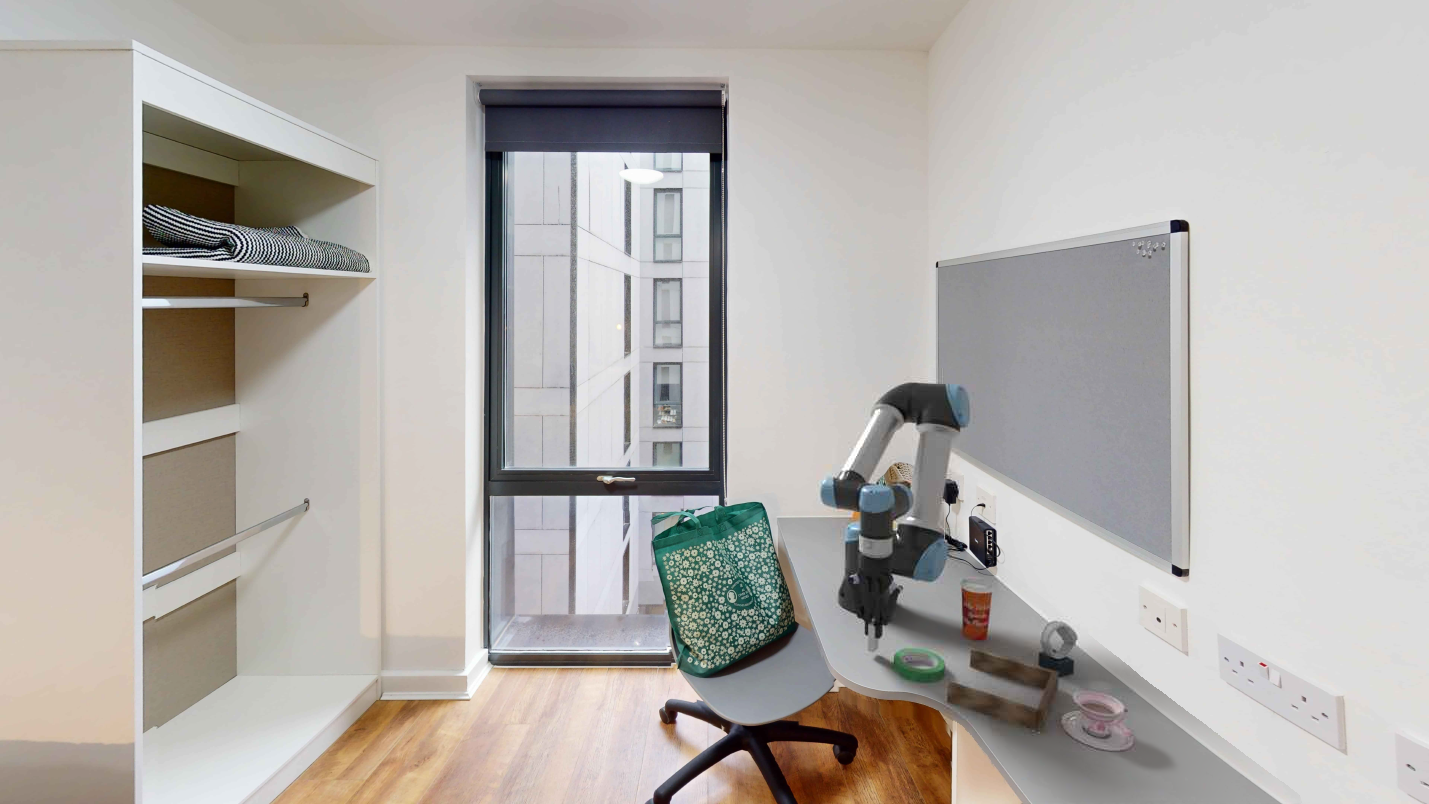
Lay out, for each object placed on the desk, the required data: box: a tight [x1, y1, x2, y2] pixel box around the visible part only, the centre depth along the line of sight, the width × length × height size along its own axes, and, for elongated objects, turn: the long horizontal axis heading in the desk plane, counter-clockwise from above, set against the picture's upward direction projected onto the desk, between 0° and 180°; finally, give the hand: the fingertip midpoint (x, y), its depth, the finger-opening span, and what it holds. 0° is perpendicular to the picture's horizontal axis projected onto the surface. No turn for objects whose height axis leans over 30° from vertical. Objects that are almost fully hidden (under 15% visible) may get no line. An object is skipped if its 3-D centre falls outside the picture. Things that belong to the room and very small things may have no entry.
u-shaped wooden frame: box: [946, 647, 1060, 734], centre depth 134 cm, size 18×18×4 cm
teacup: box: [1060, 690, 1135, 752], centre depth 123 cm, size 12×12×6 cm
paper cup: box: [959, 576, 995, 642], centre depth 160 cm, size 8×8×14 cm
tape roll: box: [893, 647, 946, 684], centre depth 145 cm, size 11×11×3 cm
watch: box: [1037, 620, 1079, 678], centre depth 144 cm, size 6×8×11 cm
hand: (873, 649), depth 151 cm, fingers closed
